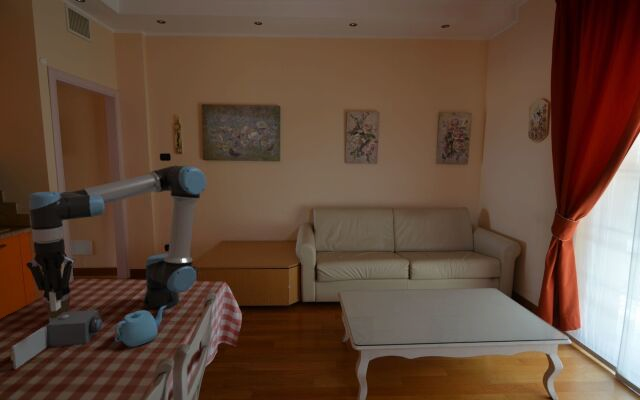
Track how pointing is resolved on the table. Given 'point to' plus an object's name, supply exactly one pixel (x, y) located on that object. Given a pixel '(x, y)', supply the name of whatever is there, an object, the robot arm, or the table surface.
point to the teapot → (138, 327)
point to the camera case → (73, 328)
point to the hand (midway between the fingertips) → (56, 309)
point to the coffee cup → (64, 304)
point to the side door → (29, 347)
